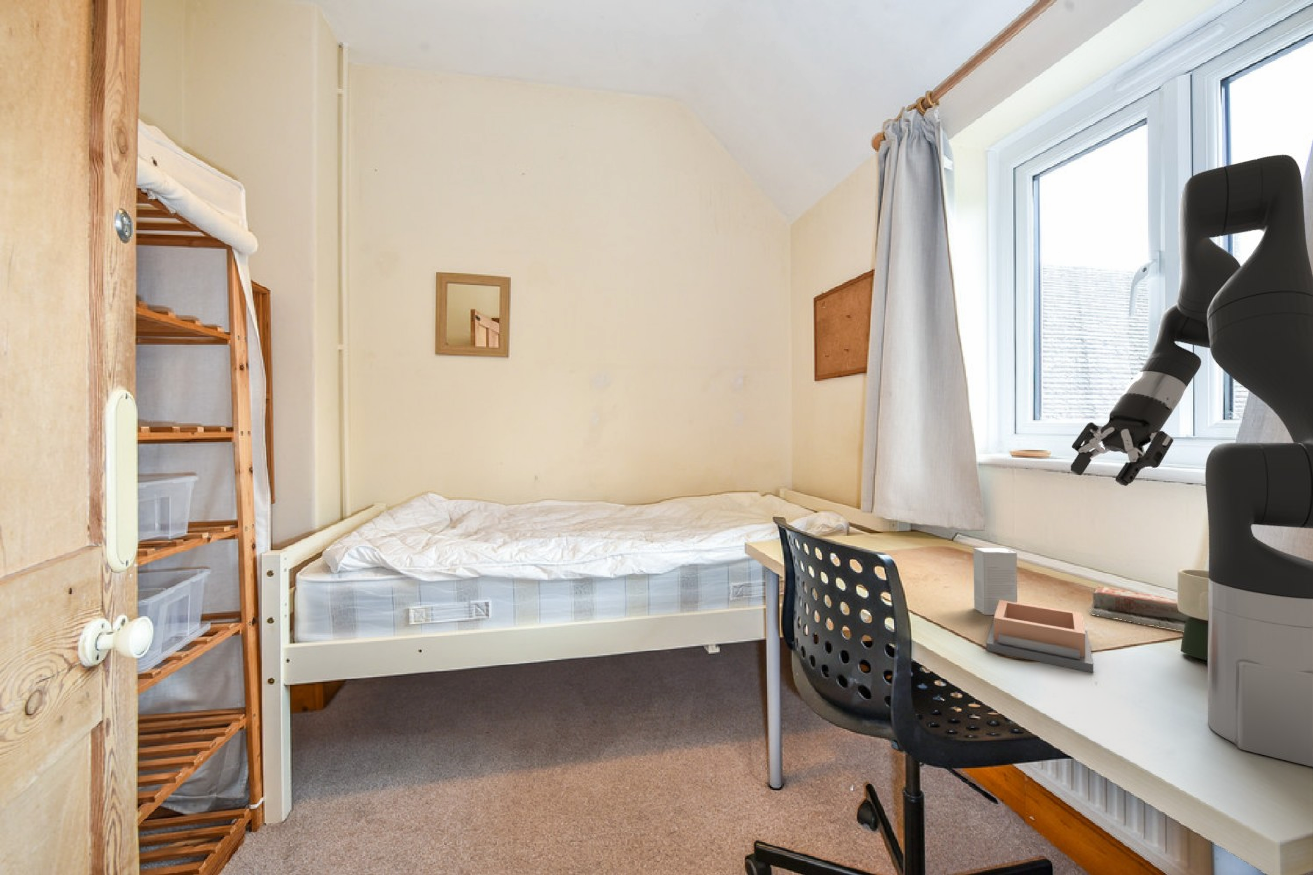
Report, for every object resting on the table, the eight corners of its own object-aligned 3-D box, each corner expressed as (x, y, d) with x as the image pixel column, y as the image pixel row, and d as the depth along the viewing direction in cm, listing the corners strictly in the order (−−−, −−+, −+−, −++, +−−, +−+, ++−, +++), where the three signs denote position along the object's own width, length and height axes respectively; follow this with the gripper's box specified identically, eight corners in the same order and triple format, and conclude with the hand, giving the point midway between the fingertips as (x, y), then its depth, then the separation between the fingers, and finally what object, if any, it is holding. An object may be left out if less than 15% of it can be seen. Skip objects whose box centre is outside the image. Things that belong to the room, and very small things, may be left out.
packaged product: (1089, 591, 100) (1095, 581, 107) (1089, 617, 100) (1095, 605, 107) (1230, 614, 87) (1226, 601, 94) (1230, 644, 87) (1226, 628, 94)
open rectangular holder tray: (1093, 672, 76) (1093, 640, 76) (986, 650, 83) (986, 620, 83) (1087, 637, 88) (1087, 609, 88) (995, 621, 96) (995, 595, 96)
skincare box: (1005, 608, 103) (1005, 547, 103) (1018, 616, 99) (1018, 552, 99) (972, 607, 104) (972, 547, 104) (983, 615, 99) (983, 552, 99)
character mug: (1240, 679, 73) (1241, 586, 73) (1170, 661, 79) (1170, 575, 79) (1249, 659, 80) (1250, 573, 80) (1183, 644, 86) (1184, 564, 86)
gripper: (1095, 389, 102) (1048, 460, 103) (1177, 394, 88) (1123, 476, 89) (1120, 409, 103) (1074, 479, 104) (1205, 417, 90) (1151, 498, 90)
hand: (1097, 478), depth 96 cm, fingers open, 8 cm apart
